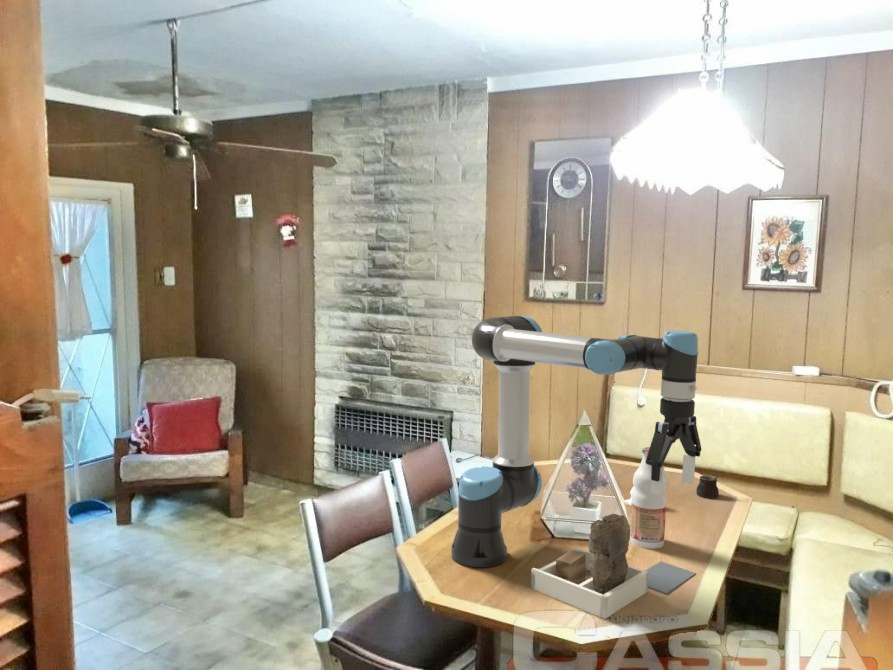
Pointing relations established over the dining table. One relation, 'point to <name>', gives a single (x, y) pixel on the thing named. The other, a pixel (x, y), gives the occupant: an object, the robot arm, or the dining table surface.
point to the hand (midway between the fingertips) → (672, 488)
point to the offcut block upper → (570, 563)
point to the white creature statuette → (631, 497)
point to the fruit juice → (647, 509)
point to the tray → (590, 589)
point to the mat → (666, 577)
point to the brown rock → (609, 552)
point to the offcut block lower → (574, 576)
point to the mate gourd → (708, 487)
